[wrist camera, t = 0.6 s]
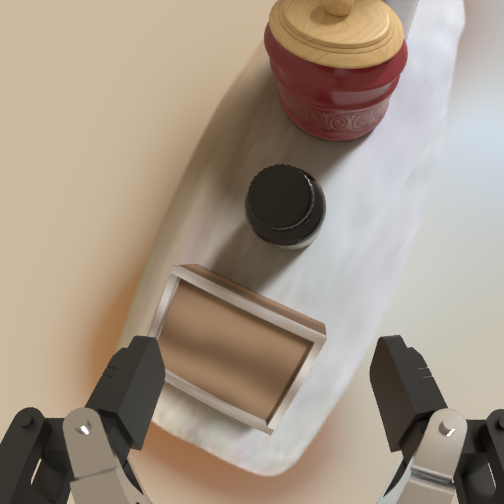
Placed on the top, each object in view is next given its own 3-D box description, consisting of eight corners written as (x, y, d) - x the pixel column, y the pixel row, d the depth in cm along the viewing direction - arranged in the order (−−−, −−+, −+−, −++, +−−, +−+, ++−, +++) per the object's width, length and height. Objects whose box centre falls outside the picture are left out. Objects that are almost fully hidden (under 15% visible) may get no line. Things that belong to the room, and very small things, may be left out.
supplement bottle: (319, 254, 32) (322, 252, 20) (257, 246, 33) (225, 239, 21) (326, 191, 32) (331, 155, 20) (265, 185, 33) (238, 148, 21)
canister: (318, 164, 32) (317, 74, 14) (261, 84, 33) (221, -17, 16) (405, 117, 30) (455, 24, 12) (343, 46, 31) (347, -55, 14)
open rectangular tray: (197, 264, 34) (173, 265, 29) (324, 324, 31) (326, 338, 25) (163, 349, 35) (139, 364, 29) (278, 409, 32) (270, 435, 26)
